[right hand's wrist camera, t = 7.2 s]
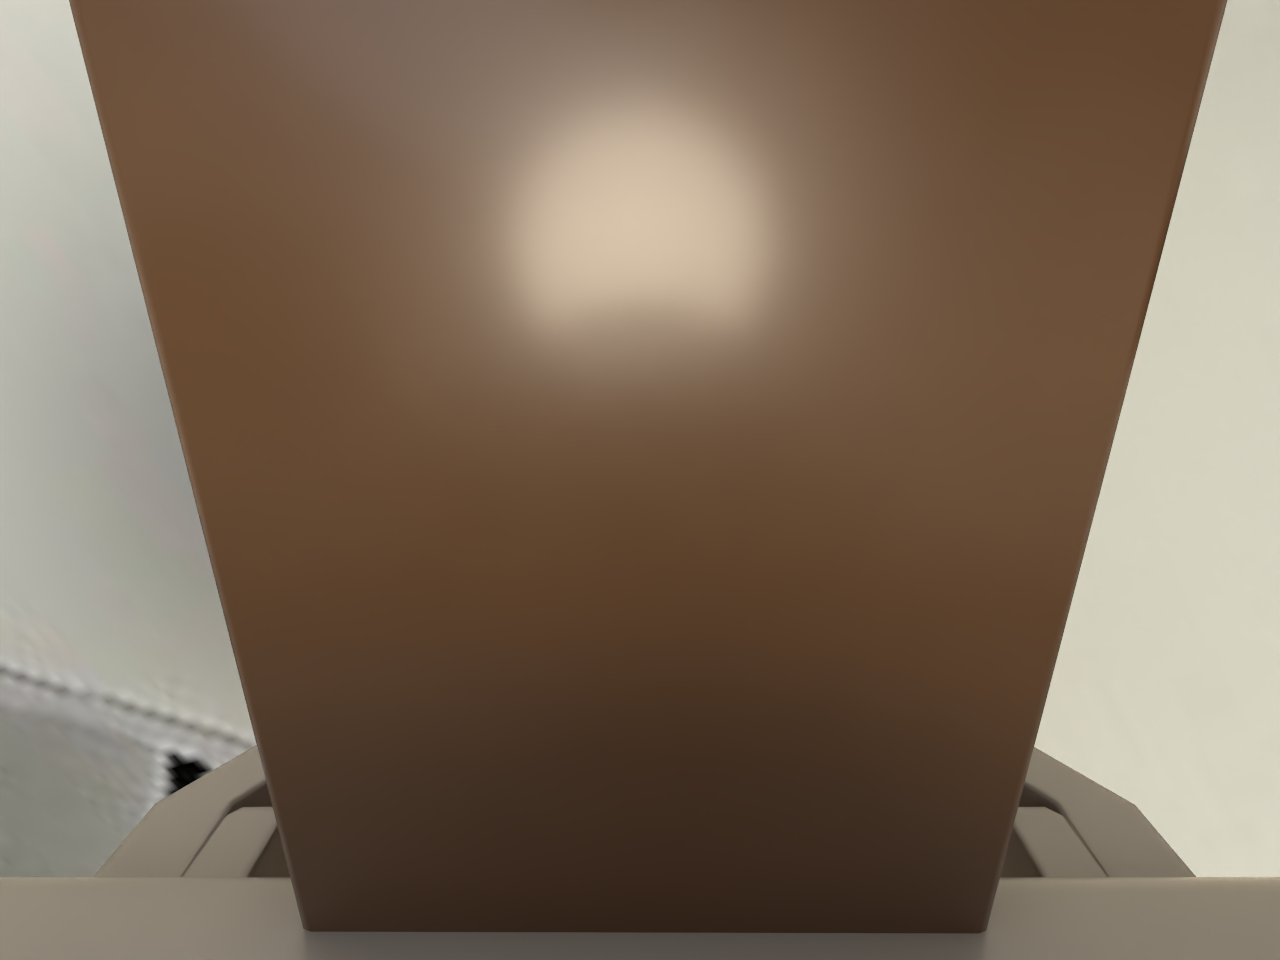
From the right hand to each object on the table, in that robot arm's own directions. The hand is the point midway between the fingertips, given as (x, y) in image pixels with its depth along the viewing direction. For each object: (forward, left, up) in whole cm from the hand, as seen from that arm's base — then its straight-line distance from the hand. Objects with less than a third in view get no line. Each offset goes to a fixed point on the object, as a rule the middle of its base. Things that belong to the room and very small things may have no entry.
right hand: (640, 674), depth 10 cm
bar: (+3, +9, -3) cm, 10 cm away
